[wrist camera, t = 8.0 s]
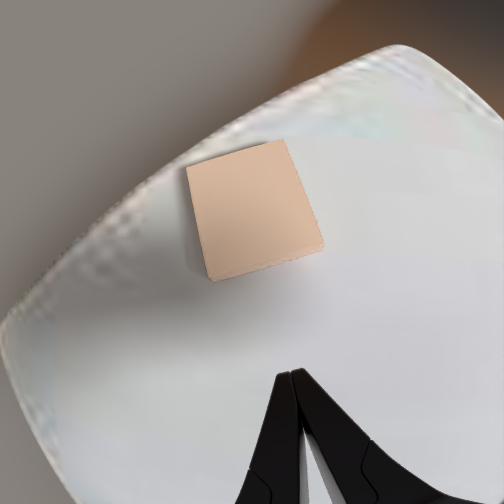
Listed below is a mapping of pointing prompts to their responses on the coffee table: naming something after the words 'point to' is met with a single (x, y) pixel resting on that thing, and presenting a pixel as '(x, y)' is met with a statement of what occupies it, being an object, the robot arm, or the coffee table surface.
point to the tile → (251, 211)
